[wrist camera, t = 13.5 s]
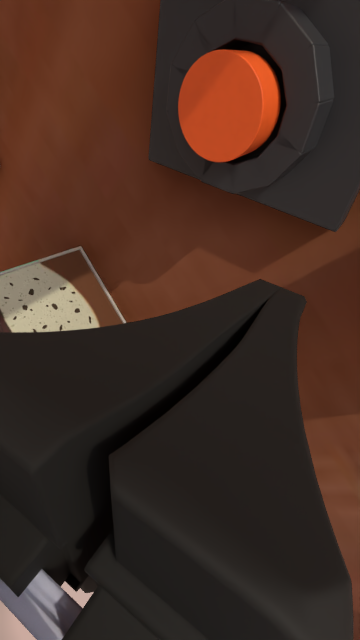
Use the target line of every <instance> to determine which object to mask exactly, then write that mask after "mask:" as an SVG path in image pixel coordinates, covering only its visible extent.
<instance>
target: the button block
mask: <svg viewBox="0 0 360 640" xmlns="http://www.w3.org/2000/svg"><path fill="white" fill-rule="evenodd" d="M222 49H225V50H244V51H251V52H254V53H256V54H258V55H260V56H261V57H263V58H264V59H265V60H266V61H267V62H268V63H269V64H270V65H271V67H272V68H273V70H274V72H275V74H276V76H277V79H278V82H279V86H280V92H281V107H280V113H279V117H278V120H277V123H276V126H275V128H274V130H273V132H272V133H271V135H270V137H269V138H268V139H267V140H266V142H265V143H264V144H263V145H262V146H260V147H259V148H258V149H256V150H254V151H253V152H250V153H248V154H246V155H243V156H241V157H238V158H236V159H234V160H231V161H228V162H212V161H209V160H207V159H204V158H203V157H201V156H199V155H198V154H197V153H196V152H195V151H194V150H193V149H192V148H191V147H190V145H189V144H188V142H187V141H186V139H185V137H184V134H183V132H182V129H181V126H180V121H179V114H178V101H179V94H180V89H181V86H182V83H183V80H184V78H185V76H186V74H187V72H188V71H189V69H190V68H191V66H192V65H193V64H194V63H195V62H196V61H197V60H198V59H199V58H200V57H202V56H203V55H205V54H206V53H209V52H211V51H214V50H222ZM149 160H150V161H153V162H156V163H158V164H161V165H163V166H166V167H168V168H171V169H174V170H176V171H179V172H181V173H184V174H187V175H189V176H192V177H194V178H197V179H199V180H201V182H204V183H206V184H209V185H211V186H214V187H217V188H219V189H222V190H224V191H227V192H229V193H232V194H238V195H241V196H243V197H246V198H249V199H251V200H254V201H256V202H259V203H262V204H264V205H267V206H269V207H272V208H274V209H277V210H280V211H282V212H285V213H287V214H290V215H293V216H295V217H298V218H300V219H303V220H305V221H308V222H311V223H313V224H316V225H318V226H321V227H324V228H326V229H329V230H331V231H334V232H336V231H337V230H338V229H339V227H340V226H341V225H342V224H343V222H344V220H345V218H346V216H347V214H348V212H349V210H350V208H351V206H352V204H353V202H354V200H355V198H356V196H357V194H358V192H359V190H360V0H161V1H160V15H159V28H158V41H157V54H156V67H155V80H154V93H153V107H152V120H151V133H150V146H149Z"/></svg>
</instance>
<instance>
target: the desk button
mask: <svg viewBox="0 0 360 640" xmlns="http://www.w3.org/2000/svg"><path fill="white" fill-rule="evenodd" d="M280 107H281V92H280V86H279V82H278V79H277V76H276V74H275V72H274V70H273V68H272V67H271V65H270V64H269V63H268V62H267V61H266V60H265V59H264V58H263V57H261V56H260V55H258V54H256V53H254V52H251V51H244V50H225V49H222V50H214V51H211V52H209V53H206V54H205V55H203V56H202V57H200V58H199V59H198V60H197V61H196V62H195V63H194V64H193V65H192V66H191V68H190V69H189V71H188V72H187V74H186V76H185V78H184V80H183V83H182V86H181V89H180V94H179V101H178V114H179V121H180V126H181V129H182V132H183V134H184V137H185V139H186V141H187V142H188V144H189V145H190V147H191V148H192V149H193V150H194V151H195V152H196V153H197V154H198V155H199V156H201V157H203V158H204V159H207V160H209V161H212V162H228V161H231V160H234V159H236V158H238V157H241V156H243V155H246V154H248V153H250V152H253V151H254V150H256V149H258V148H259V147H260V146H262V145H263V144H264V143H265V142H266V140H267V139H268V138H269V137H270V135H271V133H272V132H273V130H274V128H275V126H276V123H277V120H278V117H279V113H280Z"/></svg>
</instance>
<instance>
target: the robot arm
mask: <svg viewBox="0 0 360 640" xmlns="http://www.w3.org/2000/svg"><path fill="white" fill-rule="evenodd" d="M306 303H307V301H306V299H305V297H304V296H302V295H299V294H297V293H294V292H292V291H289V290H287V289H284V288H282V287H279V286H276V285H274V284H271V283H269V282H266V281H264V280H261V279H259V280H257V281H254V282H252V283H249V284H247V285H245V286H242V287H240V288H238V289H235V290H233V291H231V292H228V293H226V294H223V295H221V296H218V297H216V298H213V299H211V300H208V301H206V302H203V303H200V304H197V305H194V306H191V307H188V308H185V309H182V310H179V311H176V312H173V313H169V314H166V315H162V316H158V317H154V318H149V319H145V320H141V321H136V322H130V323H124V324H117V325H111V326H104V327H98V328H90V329H79V330H67V331H52V332H0V600H1V601H2V602H3V603H4V605H5V606H6V607H7V608H8V609H9V610H10V611H11V612H12V613H13V614H14V615H15V617H17V619H18V620H19V621H20V622H21V623H22V624H23V625H24V626H25V627H26V628H27V630H28V631H29V632H30V633H31V634H32V635H33V636H34V637H35V638H36V639H37V640H353V601H352V583H351V579H350V576H349V573H348V570H347V568H346V565H345V562H344V559H343V557H342V554H341V551H340V549H339V546H338V543H337V540H336V537H335V535H334V532H333V529H332V526H331V523H330V520H329V517H328V514H327V511H326V508H325V505H324V501H323V498H322V495H321V491H320V488H319V485H318V482H317V478H316V475H315V471H314V467H313V462H312V458H311V454H310V450H309V446H308V442H307V438H306V434H305V429H304V424H303V418H302V412H301V406H300V398H299V390H298V378H297V339H298V328H299V322H300V317H301V315H302V312H303V310H304V307H305V305H306ZM64 581H66V582H67V583H68V584H69V585H70V586H71V587H72V588H73V589H74V590H75V591H78V589H80V588H81V589H82V590H83V591H84V592H85V593H90V592H94V593H93V594H92V596H91V597H90V599H89V600H88V602H87V603H86V605H85V606H84V608H82V607H81V606H79V604H78V603H76V601H74V600H73V599H72V598H71V597H70V596H69V595H68V594H67V593H66V592H65V591H64V590H63V589H62V588H61V585H62V584H63V583H64Z"/></svg>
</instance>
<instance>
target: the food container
mask: <svg viewBox="0 0 360 640" xmlns="http://www.w3.org/2000/svg"><path fill="white" fill-rule="evenodd" d="M124 323H126V321H125V320H124V318H123V316H122V315H121V313H120V311H119V309H118V308H117V306H116V304H115V303H114V301H113V299H112V298H111V296H110V294H109V293H108V291H107V289H106V287H105V286H104V284H103V282H102V281H101V279H100V277H99V276H98V274H97V272H96V271H95V269H94V267H93V265H92V264H91V262H90V260H89V259H88V257H87V255H86V254H85V252H84V250H83V248H82V247H81V246H79V247H76V248H73V249H70V250H67V251H63V252H60V253H57V254H54V255H51V256H48V257H45V258H42V259H39V260H36V261H33V262H30V263H27V264H24V265H20V266H17V267H14V268H11V269H8V270H5V271H2V272H0V332H52V331H67V330H79V329H90V328H98V327H104V326H111V325H117V324H124Z"/></svg>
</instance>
